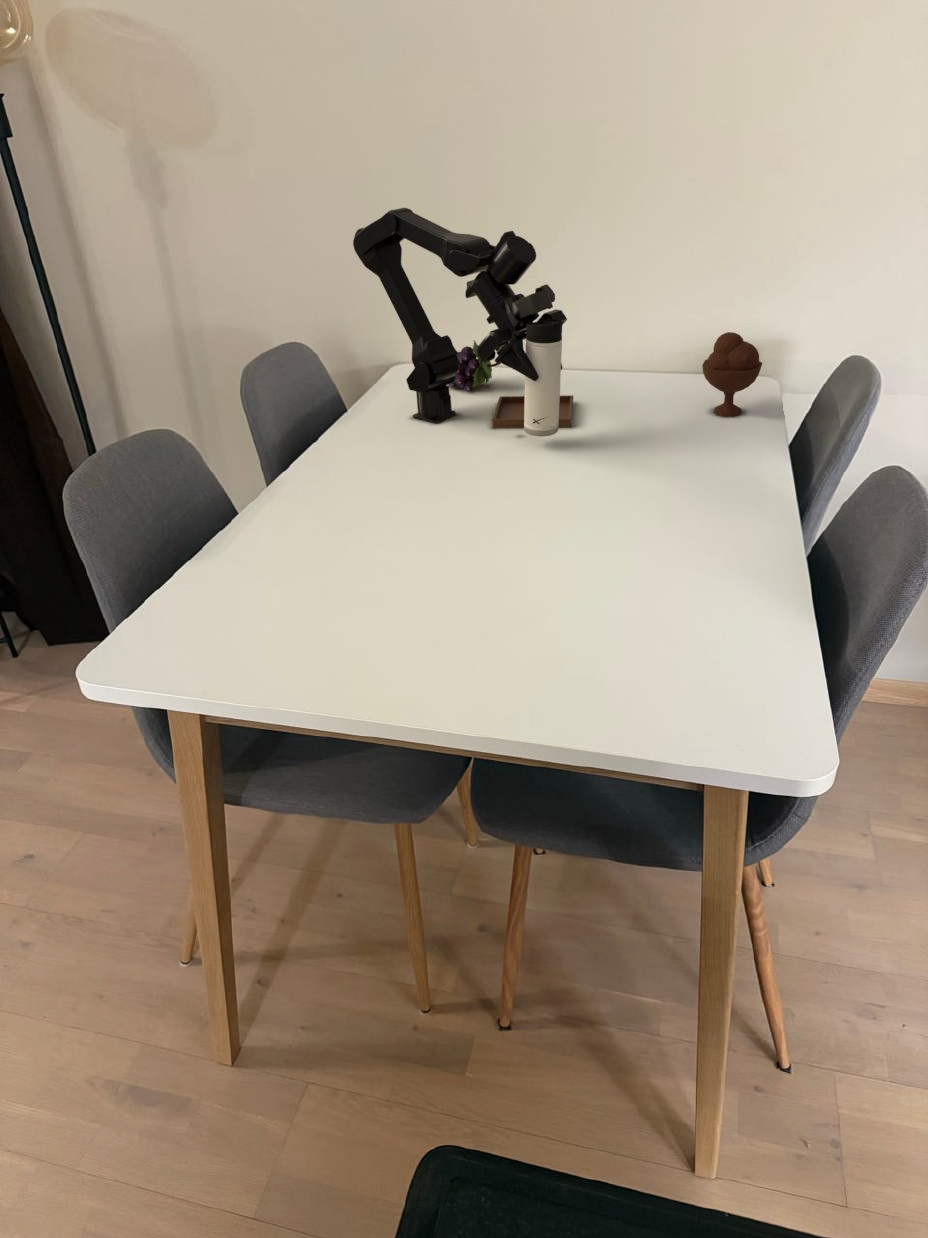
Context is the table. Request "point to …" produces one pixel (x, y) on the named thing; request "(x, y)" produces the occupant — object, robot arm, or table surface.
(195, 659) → the table surface
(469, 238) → the robot arm
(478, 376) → the fruit
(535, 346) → the travel mug
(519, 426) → the serving tray
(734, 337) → the ice cream bowl
